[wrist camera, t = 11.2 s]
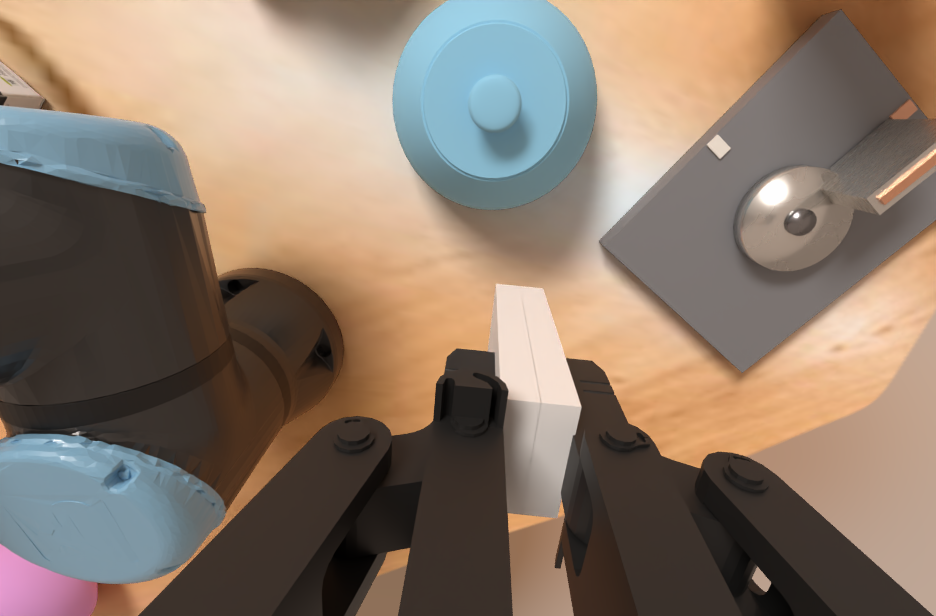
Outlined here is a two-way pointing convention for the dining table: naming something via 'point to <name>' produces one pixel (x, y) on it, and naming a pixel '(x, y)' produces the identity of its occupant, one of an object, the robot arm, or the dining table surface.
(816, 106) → the board
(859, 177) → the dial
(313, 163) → the dining table surface
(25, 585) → the teapot
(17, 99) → the tea box
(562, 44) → the sugar bowl
